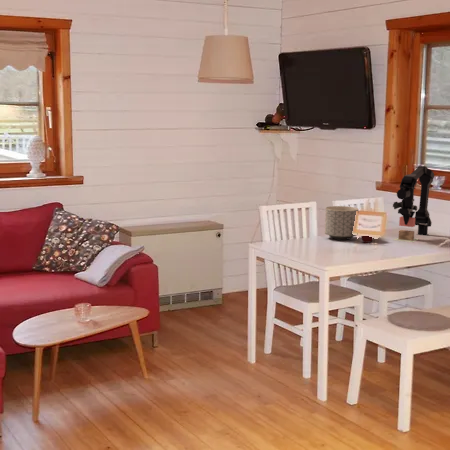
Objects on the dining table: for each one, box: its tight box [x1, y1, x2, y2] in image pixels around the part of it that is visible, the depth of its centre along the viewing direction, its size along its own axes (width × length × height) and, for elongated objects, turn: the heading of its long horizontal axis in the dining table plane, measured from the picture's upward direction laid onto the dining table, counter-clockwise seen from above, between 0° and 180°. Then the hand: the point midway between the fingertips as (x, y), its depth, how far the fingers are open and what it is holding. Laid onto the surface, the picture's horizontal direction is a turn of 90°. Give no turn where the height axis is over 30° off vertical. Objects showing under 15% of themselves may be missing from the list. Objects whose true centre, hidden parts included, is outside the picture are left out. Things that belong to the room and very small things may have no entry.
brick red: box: [398, 215, 416, 228], centre depth 438 cm, size 8×4×5 cm, turn 56°
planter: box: [324, 205, 359, 241], centre depth 443 cm, size 19×19×18 cm
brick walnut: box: [397, 229, 415, 241], centre depth 439 cm, size 8×4×5 cm, turn 60°
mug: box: [361, 236, 373, 244], centre depth 433 cm, size 10×8×10 cm
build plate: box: [393, 236, 420, 243], centre depth 439 cm, size 12×12×1 cm
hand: (407, 224), depth 438 cm, fingers closed on brick red, 4 cm apart
